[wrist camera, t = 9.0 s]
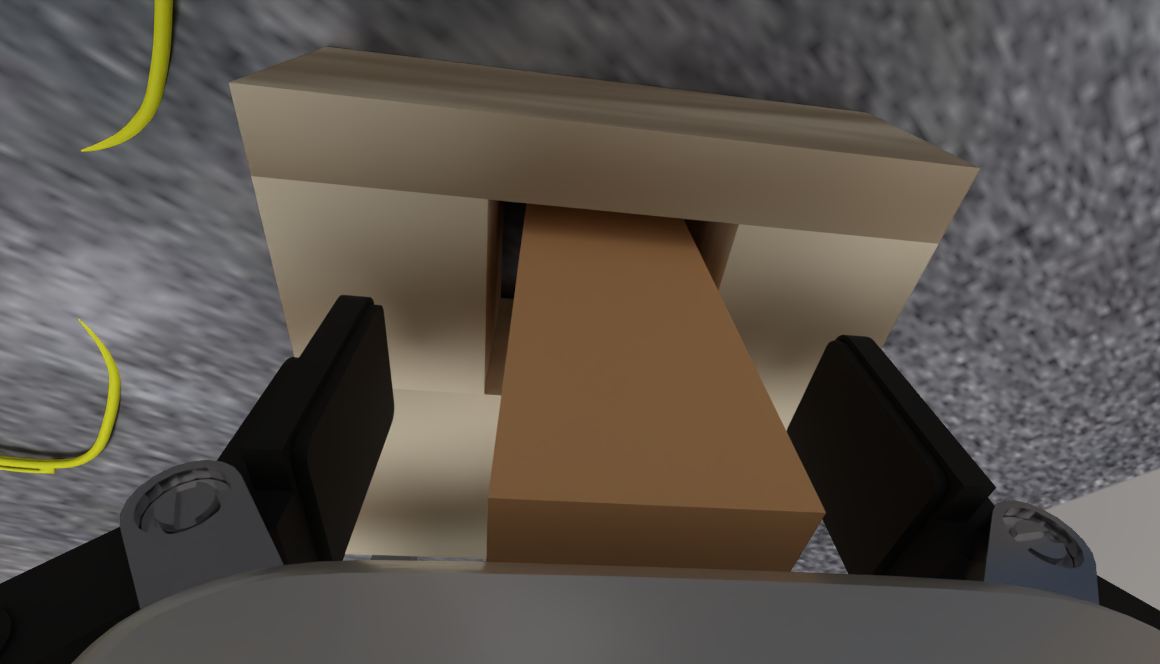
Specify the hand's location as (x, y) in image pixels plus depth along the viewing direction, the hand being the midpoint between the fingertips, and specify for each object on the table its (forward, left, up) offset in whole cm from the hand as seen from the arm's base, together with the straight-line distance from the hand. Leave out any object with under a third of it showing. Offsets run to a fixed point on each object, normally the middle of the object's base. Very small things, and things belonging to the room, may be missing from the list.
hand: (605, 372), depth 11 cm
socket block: (+3, 0, -7) cm, 8 cm away
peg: (0, 0, -7) cm, 7 cm away
